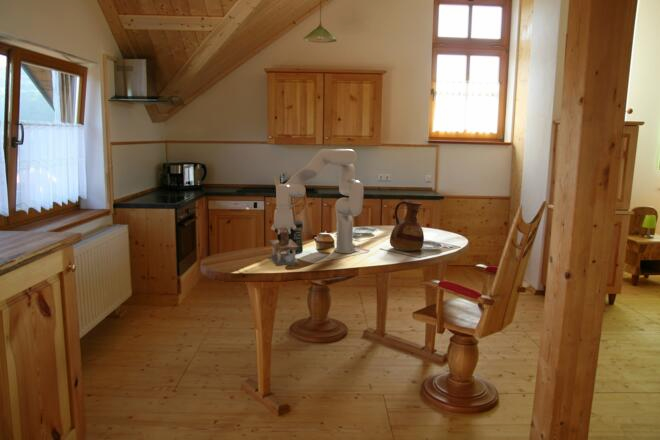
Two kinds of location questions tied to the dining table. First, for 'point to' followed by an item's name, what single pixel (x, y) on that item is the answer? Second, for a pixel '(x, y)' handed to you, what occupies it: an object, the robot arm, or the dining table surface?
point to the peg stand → (284, 258)
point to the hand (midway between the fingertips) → (283, 240)
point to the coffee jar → (297, 236)
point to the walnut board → (284, 243)
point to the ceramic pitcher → (407, 229)
